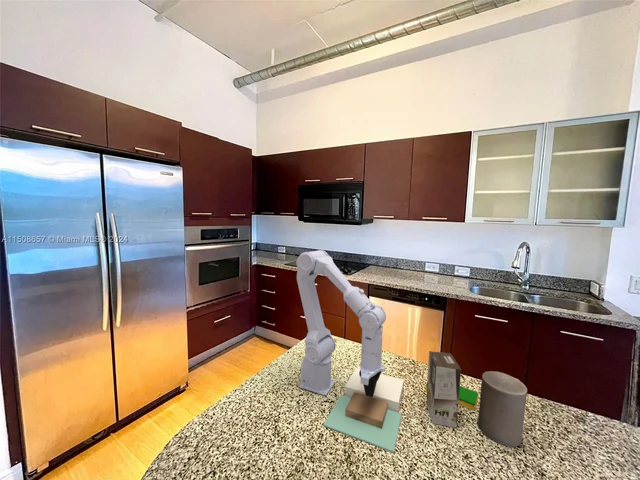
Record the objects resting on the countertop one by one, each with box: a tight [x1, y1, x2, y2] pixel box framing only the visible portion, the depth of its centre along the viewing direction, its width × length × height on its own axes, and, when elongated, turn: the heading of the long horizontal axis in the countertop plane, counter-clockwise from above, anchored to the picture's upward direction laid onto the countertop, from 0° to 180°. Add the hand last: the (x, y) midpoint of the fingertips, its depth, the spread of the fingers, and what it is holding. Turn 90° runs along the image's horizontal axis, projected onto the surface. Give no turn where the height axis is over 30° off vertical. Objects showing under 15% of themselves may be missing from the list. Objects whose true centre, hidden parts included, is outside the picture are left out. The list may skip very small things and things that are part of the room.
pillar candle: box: [477, 370, 528, 448], centre depth 68 cm, size 10×10×15 cm
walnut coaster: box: [345, 392, 388, 429], centre depth 74 cm, size 10×8×2 cm
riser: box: [344, 367, 405, 413], centre depth 83 cm, size 16×12×3 cm
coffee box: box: [426, 351, 462, 428], centre depth 74 cm, size 9×6×16 cm
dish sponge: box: [425, 383, 479, 411], centre depth 83 cm, size 7×14×2 cm, turn 52°
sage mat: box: [322, 394, 403, 454], centre depth 71 cm, size 18×14×1 cm
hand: (369, 394), depth 76 cm, fingers closed
